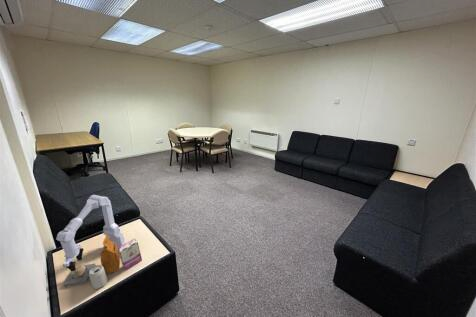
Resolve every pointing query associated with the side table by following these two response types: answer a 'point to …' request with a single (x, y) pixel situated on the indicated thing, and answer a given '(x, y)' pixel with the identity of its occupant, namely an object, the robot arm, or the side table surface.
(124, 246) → the candy bar box
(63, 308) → the side table surface
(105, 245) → the coffee package
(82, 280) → the housing
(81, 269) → the jaw block
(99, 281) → the can
